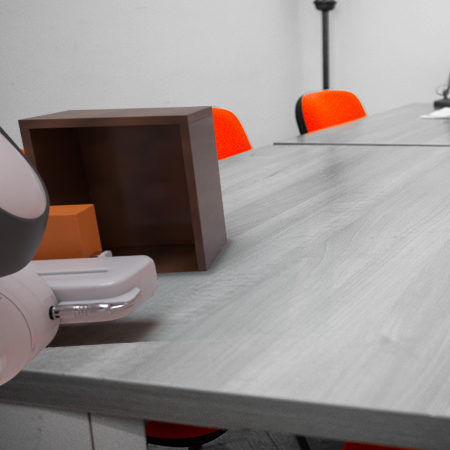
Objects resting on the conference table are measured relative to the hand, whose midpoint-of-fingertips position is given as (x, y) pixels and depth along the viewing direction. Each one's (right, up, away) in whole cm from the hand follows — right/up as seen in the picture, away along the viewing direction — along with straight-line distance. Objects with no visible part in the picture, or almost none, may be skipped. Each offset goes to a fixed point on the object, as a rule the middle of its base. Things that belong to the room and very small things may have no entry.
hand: (73, 259), depth 58 cm
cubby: (+1, -2, +16) cm, 16 cm away
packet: (0, -6, +1) cm, 7 cm away
